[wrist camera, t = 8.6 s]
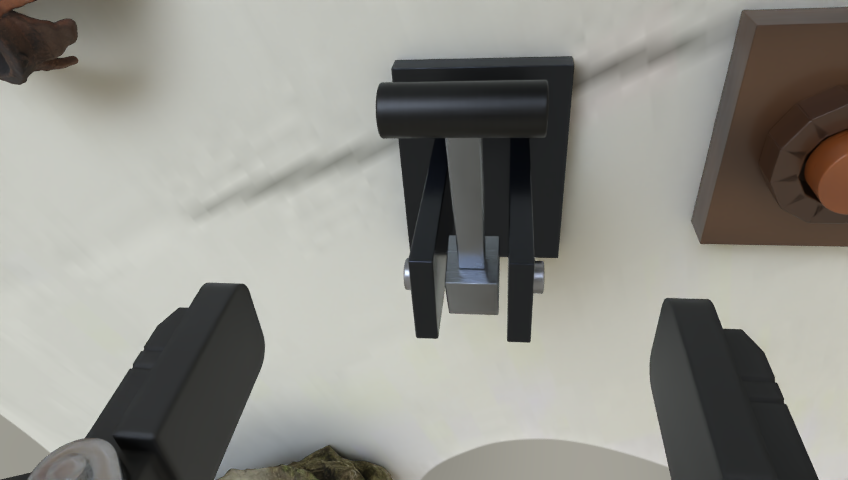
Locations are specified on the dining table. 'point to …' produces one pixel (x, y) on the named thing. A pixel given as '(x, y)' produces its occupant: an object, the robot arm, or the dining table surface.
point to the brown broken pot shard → (32, 43)
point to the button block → (776, 131)
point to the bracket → (488, 190)
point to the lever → (466, 163)
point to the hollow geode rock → (314, 469)
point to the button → (830, 172)
